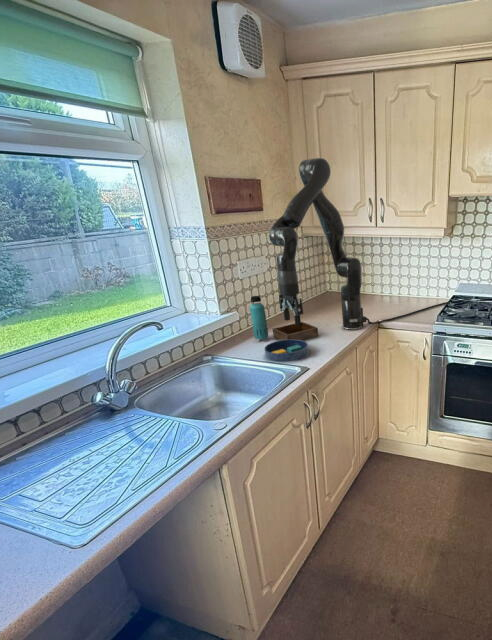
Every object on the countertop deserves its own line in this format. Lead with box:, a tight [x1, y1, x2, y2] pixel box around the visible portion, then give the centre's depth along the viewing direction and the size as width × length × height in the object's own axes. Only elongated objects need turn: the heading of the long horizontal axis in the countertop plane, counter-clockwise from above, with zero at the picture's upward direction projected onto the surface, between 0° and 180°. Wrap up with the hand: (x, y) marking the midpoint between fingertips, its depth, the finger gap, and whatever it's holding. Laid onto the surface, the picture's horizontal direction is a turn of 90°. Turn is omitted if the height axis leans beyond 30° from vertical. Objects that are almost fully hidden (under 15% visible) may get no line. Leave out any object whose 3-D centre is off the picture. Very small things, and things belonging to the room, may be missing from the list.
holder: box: [272, 321, 319, 341], centre depth 186 cm, size 16×14×5 cm
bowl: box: [264, 339, 310, 363], centre depth 166 cm, size 17×17×4 cm
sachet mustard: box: [272, 349, 287, 353], centre depth 164 cm, size 5×4×2 cm
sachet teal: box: [287, 345, 302, 353], centre depth 168 cm, size 5×4×2 cm
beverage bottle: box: [249, 295, 269, 340], centre depth 180 cm, size 6×7×20 cm
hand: (292, 322), depth 164 cm, fingers open, 8 cm apart
